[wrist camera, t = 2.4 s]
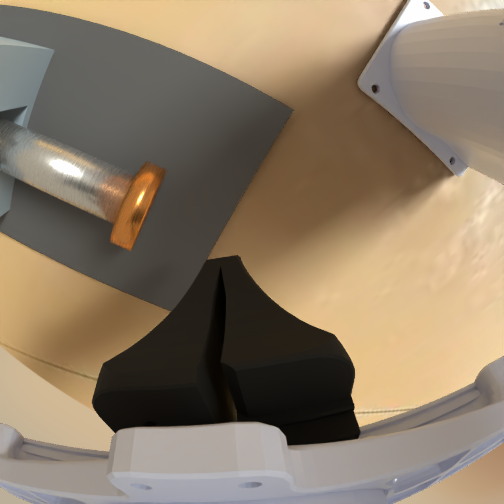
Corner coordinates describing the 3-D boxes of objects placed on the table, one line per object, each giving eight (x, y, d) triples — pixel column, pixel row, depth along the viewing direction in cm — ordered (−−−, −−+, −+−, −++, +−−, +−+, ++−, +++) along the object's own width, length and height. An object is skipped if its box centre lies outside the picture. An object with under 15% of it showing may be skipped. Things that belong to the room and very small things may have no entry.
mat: (291, 109, 14) (293, 110, 14) (177, 309, 20) (177, 313, 19) (-2, 4, 8) (-5, 4, 8) (-50, 197, 13) (-53, 199, 13)
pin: (172, 161, 14) (156, 185, 11) (143, 227, 16) (123, 268, 12) (7, 93, 11) (-38, 102, 7) (-8, 157, 12) (-50, 178, 9)
